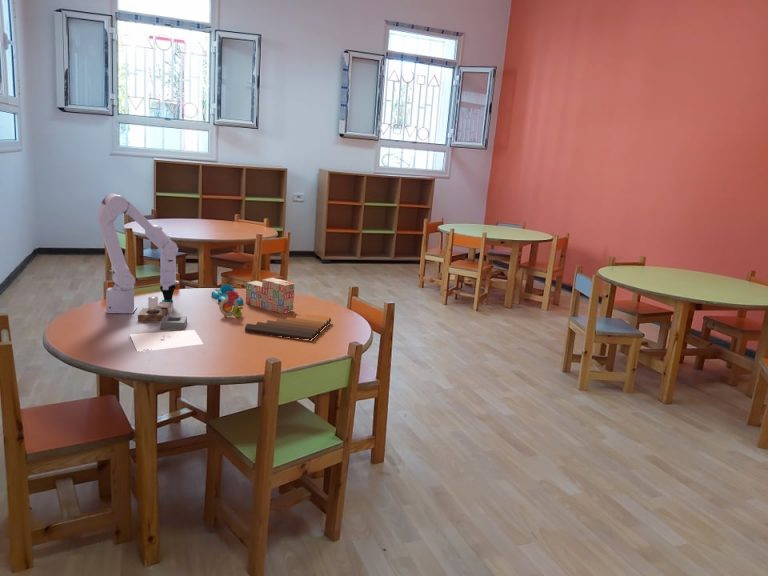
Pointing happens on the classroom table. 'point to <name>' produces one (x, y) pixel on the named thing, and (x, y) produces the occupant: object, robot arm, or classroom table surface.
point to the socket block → (152, 315)
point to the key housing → (166, 306)
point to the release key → (166, 301)
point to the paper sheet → (165, 340)
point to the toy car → (225, 294)
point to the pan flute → (291, 327)
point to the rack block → (173, 322)
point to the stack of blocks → (271, 294)
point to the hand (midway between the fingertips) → (168, 303)
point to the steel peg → (153, 304)
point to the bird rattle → (227, 307)
